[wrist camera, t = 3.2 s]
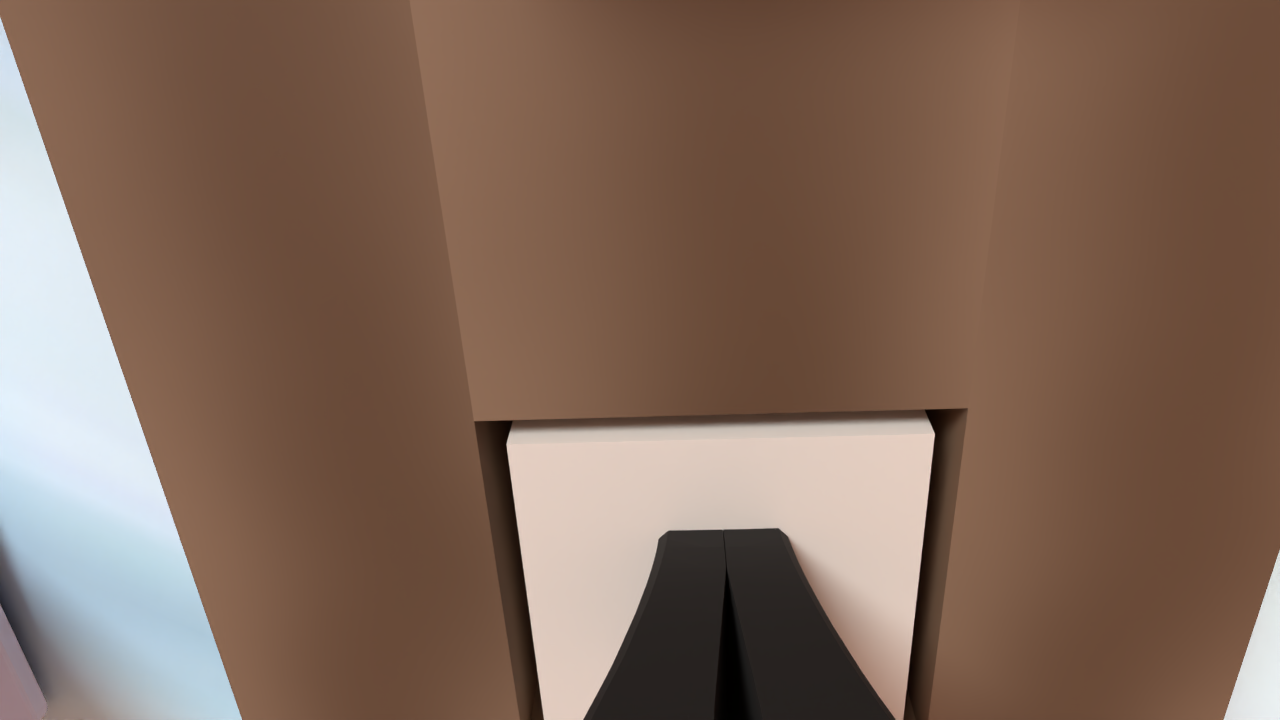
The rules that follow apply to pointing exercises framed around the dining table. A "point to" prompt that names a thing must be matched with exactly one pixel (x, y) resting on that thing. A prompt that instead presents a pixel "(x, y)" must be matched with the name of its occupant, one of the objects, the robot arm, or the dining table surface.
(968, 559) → the panel
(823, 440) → the pale pink block
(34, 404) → the dining table surface
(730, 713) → the robot arm
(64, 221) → the dining table surface
